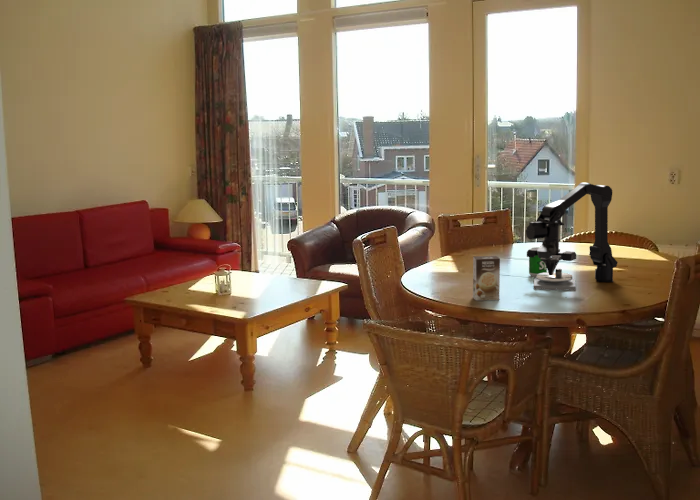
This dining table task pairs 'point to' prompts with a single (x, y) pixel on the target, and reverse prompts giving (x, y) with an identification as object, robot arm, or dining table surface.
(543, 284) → the wheel base
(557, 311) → the dining table surface
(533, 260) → the soda can
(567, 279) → the handwheel
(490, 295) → the coffee box
